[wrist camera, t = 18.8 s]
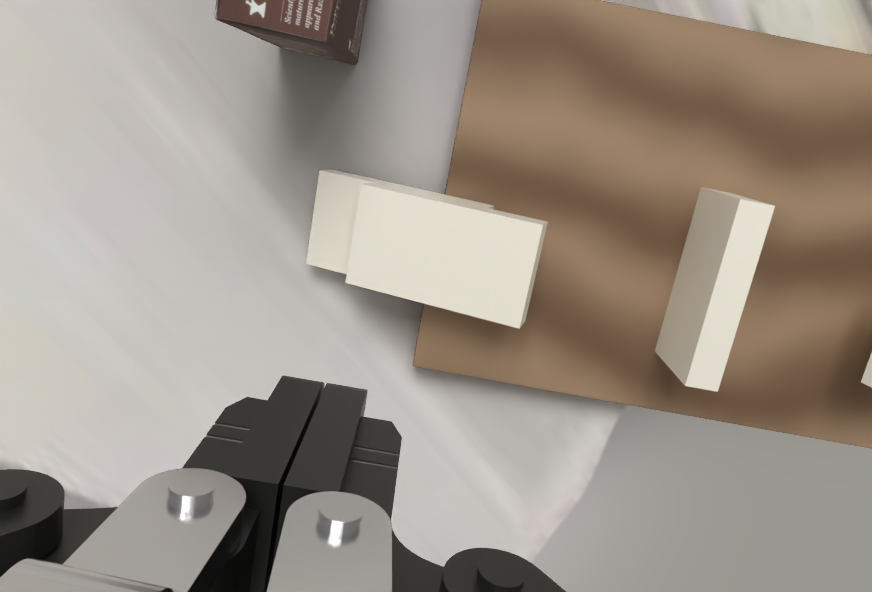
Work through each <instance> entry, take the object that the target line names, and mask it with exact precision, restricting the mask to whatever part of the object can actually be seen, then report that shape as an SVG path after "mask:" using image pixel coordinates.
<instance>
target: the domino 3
mask: <svg viewBox="0 0 872 592" xmlns="http://www.w3.org/2000/svg"><path fill="white" fill-rule="evenodd" d="M774 208H775V206H774V205H771V204H767V203H764V202H760V201H757V200H753V199H750V198H747V197H743V196H740V195H736V194H733V193H729V192H723V191H718V190H713V189H708V188H703V187H701V189H700V192H699V196H698V199H697V203H696V206H695V210H694V214H693V217H692V221H691V224H690V228H689V231H688V235H687V238H686V242H685V246H684V249H683V253H682V256H681V260H680V263H679V267H678V271H677V274H676V278H675V281H674V285H673V288H672V292H671V295H670V299H669V303H668V306H667V310H666V313H665V317H664V320H663V324H662V328H661V331H660V335H659V338H658V342H657V345H656V349H655V352H656V353H657V354H658V356H659V357H660V358H661V359H662V360H663V361H664V362H665V364H666V365H667V366H668V367H669V368H670V369H671V370H672V372H673V373H674V374H675V375H676V376H677V377H678V378H679V380H680V381H681V382H682V383H683V384H684V385H685V386H688V387H694V388H699V389H705V390H710V391H716V392H718V389H719V386H720V383H721V380H722V376H723V373H724V370H725V367H726V363H727V360H728V357H729V354H730V350H731V347H732V344H733V341H734V338H735V334H736V331H737V328H738V325H739V321H740V318H741V315H742V312H743V308H744V305H745V302H746V299H747V295H748V292H749V289H750V286H751V283H752V279H753V276H754V273H755V270H756V266H757V263H758V260H759V257H760V253H761V250H762V247H763V244H764V240H765V237H766V234H767V231H768V228H769V224H770V221H771V218H772V215H773V211H774Z"/></svg>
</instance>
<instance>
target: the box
mask: <svg viewBox="0 0 872 592" xmlns="http://www.w3.org/2000/svg"><path fill="white" fill-rule="evenodd" d="M366 5H367V0H217V1H216V8H215V13H214V15H215V19H216V20H218V21H221V22H223V23H226V24H229V25H230V26H234V27H236V28H238V29H240V30H243V31H244V32H247V33H249V34H251V35H254V36H255V37H258V38H260V39H262V40H265V41H267V42H270V43H271V44H274V45H277V46H279V47H282V48H285V49H289V50H292V51H297V52H302V53H306V54H310V55H314V56H320V57H325V58H329V59H333V60H338V61H342V62H345V63H350V64H353V65H356V64H357V62H358V56H359V49H360V43H361V36H362V29H363V23H364V17H365V11H366Z"/></svg>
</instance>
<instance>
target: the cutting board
mask: <svg viewBox="0 0 872 592" xmlns="http://www.w3.org/2000/svg"><path fill="white" fill-rule="evenodd" d="M701 187H703V188H708V189H713V190H718V191H723V192H729V193H733V194H736V195H740V196H743V197H747V198H750V199H753V200H757V201H760V202H764V203H767V204H771V205H774V206H775V208H774V211H773V215H772V218H771V221H770V224H769V228H768V231H767V234H766V237H765V240H764V244H763V247H762V250H761V253H760V257H759V260H758V263H757V266H756V270H755V273H754V276H753V279H752V283H751V286H750V289H749V292H748V295H747V299H746V302H745V305H744V308H743V312H742V315H741V318H740V321H739V325H738V328H737V331H736V334H735V338H734V341H733V344H732V347H731V350H730V354H729V357H728V360H727V363H726V367H725V370H724V373H723V376H722V380H721V383H720V386H719V389H718V392H716V391H710V390H705V389H699V388H694V387H688V386H685V385H684V384H683V383H682V382H681V381H680V380H679V378H678V377H677V376H676V375H675V374H674V373H673V372H672V370H671V369H670V368H669V367H668V366H667V365H666V364H665V362H664V361H663V360H662V359H661V358H660V357H659V356H658V354H657V353H656V352H655V349H656V345H657V342H658V338H659V335H660V331H661V328H662V324H663V320H664V317H665V313H666V310H667V306H668V303H669V299H670V295H671V292H672V288H673V285H674V281H675V278H676V274H677V271H678V267H679V263H680V260H681V256H682V253H683V249H684V246H685V242H686V238H687V235H688V231H689V228H690V224H691V221H692V217H693V214H694V210H695V206H696V203H697V199H698V196H699V192H700V189H701ZM445 195H449V196H454V197H458V198H462V199H467V200H471V201H476V202H480V203H485V204H489V205H494V208H493V209H494V210H498V211H503V212H507V213H511V214H516V215H520V216H525V217H529V218H534V219H538V220H543V221H547V222H548V224H547V228H546V232H545V237H544V241H543V246H542V250H541V254H540V259H539V263H538V267H537V272H536V276H535V281H534V285H533V289H532V294H531V298H530V303H529V307H528V311H527V316H526V320H525V322H524V323H523V325H522V326H521V327H520V329H519V328H515V327H511V326H507V325H504V324H500V323H496V322H492V321H488V320H485V319H481V318H477V317H473V316H469V315H466V314H462V313H458V312H454V311H450V310H447V309H443V308H439V307H435V306H431V305H428V304H424V306H423V311H422V317H421V322H420V327H419V333H418V338H417V343H416V348H415V354H414V361H413V366H416V367H421V368H427V369H432V370H438V371H443V372H449V373H455V374H460V375H466V376H471V377H477V378H482V379H488V380H494V381H499V382H505V383H510V384H516V385H521V386H527V387H533V388H538V389H544V390H549V391H555V392H560V393H566V394H572V395H577V396H583V397H588V398H594V399H599V400H605V401H610V402H616V403H622V404H627V405H633V406H638V407H644V408H650V409H655V410H661V411H667V412H672V413H678V414H683V415H688V416H694V417H700V418H705V419H712V420H716V421H722V422H728V423H733V424H739V425H744V426H750V427H756V428H761V429H766V430H772V431H777V432H783V433H789V434H795V435H800V436H806V437H811V438H816V439H822V440H828V441H833V442H839V443H845V444H850V445H855V446H861V447H867V448H872V388H871V387H869V386H867V385H865V384H863V383H861V380H862V377H863V375H864V372H865V369H866V366H867V364H868V361H869V358H870V355H871V353H872V55H869V54H864V53H859V52H854V51H849V50H844V49H839V48H834V47H829V46H824V45H819V44H814V43H809V42H804V41H799V40H794V39H789V38H785V37H780V36H775V35H770V34H765V33H760V32H755V31H750V30H745V29H740V28H735V27H730V26H725V25H720V24H715V23H710V22H705V21H700V20H695V19H690V18H685V17H680V16H675V15H670V14H665V13H660V12H655V11H650V10H645V9H640V8H635V7H630V6H625V5H620V4H615V3H610V2H606V1H601V0H481V6H480V11H479V16H478V22H477V27H476V32H475V37H474V43H473V48H472V53H471V58H470V64H469V69H468V74H467V80H466V85H465V90H464V95H463V101H462V106H461V111H460V116H459V122H458V127H457V132H456V138H455V143H454V148H453V153H452V159H451V164H450V169H449V174H448V180H447V185H446V190H445Z"/></svg>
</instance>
